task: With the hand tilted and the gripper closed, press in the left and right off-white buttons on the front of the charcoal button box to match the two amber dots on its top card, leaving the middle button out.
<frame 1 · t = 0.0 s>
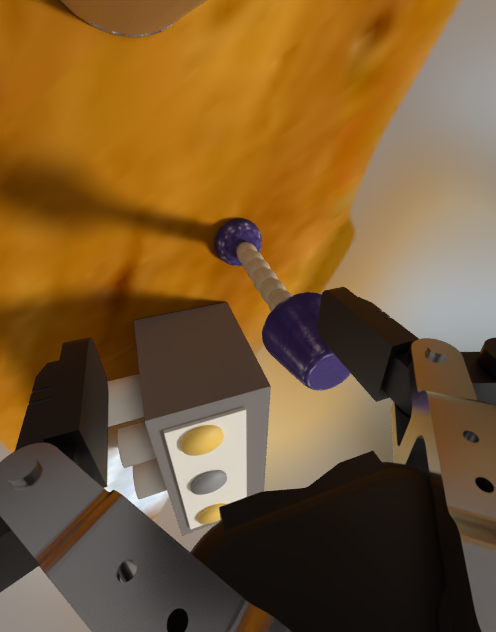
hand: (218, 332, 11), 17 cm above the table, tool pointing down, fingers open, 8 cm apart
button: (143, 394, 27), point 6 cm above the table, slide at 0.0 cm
button box: (192, 380, 37), on the table
toy lamp: (234, 238, 29), on the table
button middle: (157, 437, 31), point 6 cm above the table, slide at 0.0 cm
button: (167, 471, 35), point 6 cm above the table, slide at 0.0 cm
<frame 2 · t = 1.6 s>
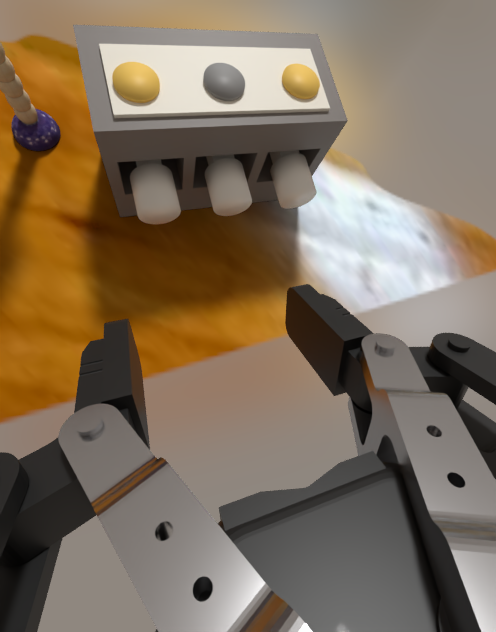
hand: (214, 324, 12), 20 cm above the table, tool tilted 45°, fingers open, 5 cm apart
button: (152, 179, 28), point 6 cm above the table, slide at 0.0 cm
button box: (206, 170, 36), on the table
toy lamp: (36, 136, 33), on the table
button middle: (224, 173, 30), point 6 cm above the table, slide at 0.0 cm
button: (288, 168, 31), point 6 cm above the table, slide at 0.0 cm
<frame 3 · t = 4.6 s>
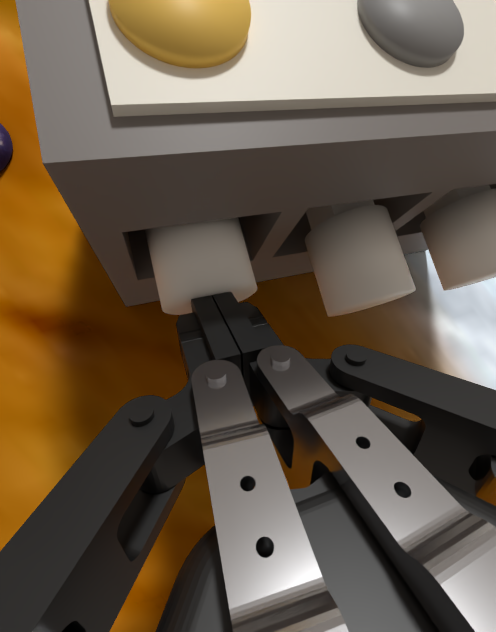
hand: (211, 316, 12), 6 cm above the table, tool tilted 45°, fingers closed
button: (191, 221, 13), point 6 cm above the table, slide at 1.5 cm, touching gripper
button box: (276, 209, 21), on the table
button middle: (346, 233, 14), point 6 cm above the table, slide at 0.0 cm
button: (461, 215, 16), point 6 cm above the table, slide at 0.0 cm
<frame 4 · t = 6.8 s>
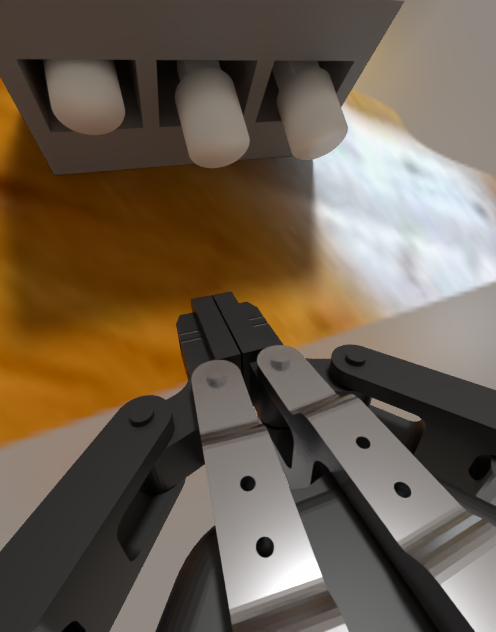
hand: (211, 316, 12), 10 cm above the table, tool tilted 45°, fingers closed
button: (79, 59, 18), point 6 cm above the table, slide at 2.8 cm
button box: (184, 113, 26), on the table
button middle: (206, 99, 19), point 6 cm above the table, slide at 0.0 cm
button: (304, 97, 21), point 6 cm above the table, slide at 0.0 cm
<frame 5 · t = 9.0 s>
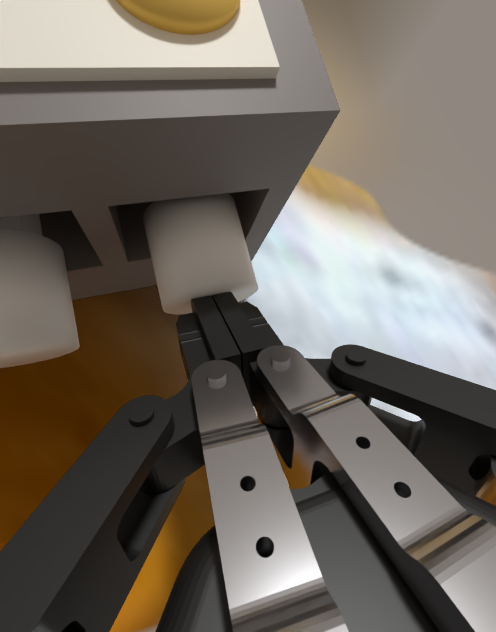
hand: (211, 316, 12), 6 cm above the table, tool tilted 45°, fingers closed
button box: (48, 222, 17), on the table
button middle: (3, 261, 11), point 6 cm above the table, slide at 0.0 cm
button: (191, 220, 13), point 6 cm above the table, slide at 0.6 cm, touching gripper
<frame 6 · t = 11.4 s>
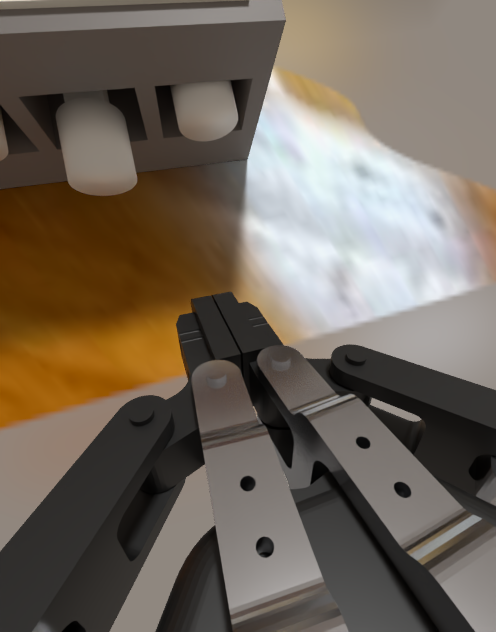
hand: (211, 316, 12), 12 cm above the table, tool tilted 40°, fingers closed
button box: (106, 117, 24), on the table
button middle: (93, 125, 18), point 6 cm above the table, slide at 0.0 cm
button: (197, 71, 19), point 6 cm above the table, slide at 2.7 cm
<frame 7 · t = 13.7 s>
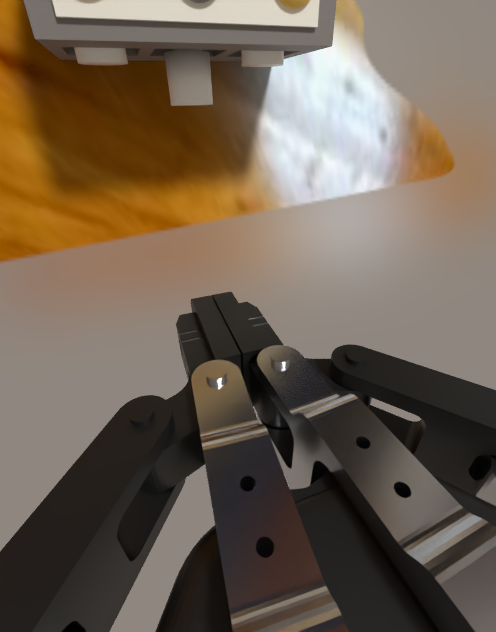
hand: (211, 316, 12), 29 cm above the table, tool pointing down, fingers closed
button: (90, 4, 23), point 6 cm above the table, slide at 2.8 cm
button middle: (187, 57, 26), point 6 cm above the table, slide at 0.0 cm
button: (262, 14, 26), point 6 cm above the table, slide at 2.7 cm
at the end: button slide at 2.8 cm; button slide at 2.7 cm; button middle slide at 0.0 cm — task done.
